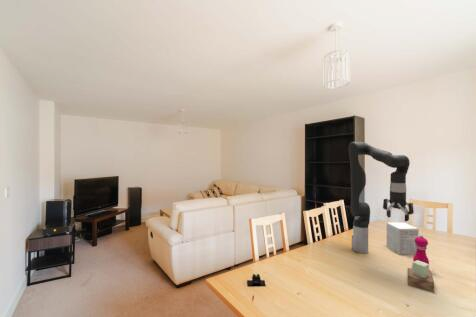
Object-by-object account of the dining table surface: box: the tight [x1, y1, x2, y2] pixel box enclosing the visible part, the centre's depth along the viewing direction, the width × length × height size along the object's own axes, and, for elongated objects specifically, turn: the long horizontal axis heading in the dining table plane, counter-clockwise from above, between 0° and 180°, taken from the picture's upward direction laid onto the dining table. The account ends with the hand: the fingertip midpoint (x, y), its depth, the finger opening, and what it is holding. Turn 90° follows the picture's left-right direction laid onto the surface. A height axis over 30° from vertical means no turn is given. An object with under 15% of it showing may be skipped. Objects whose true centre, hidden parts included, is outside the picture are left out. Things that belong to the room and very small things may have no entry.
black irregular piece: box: [246, 273, 267, 288], centre depth 117 cm, size 12×7×5 cm, turn 90°
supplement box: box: [386, 222, 420, 256], centre depth 153 cm, size 13×13×18 cm
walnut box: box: [407, 267, 435, 292], centre depth 115 cm, size 10×10×5 cm
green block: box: [411, 260, 430, 278], centre depth 115 cm, size 5×5×6 cm
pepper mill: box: [412, 234, 430, 265], centre depth 129 cm, size 7×7×20 cm
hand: (397, 219), depth 126 cm, fingers open, 8 cm apart
